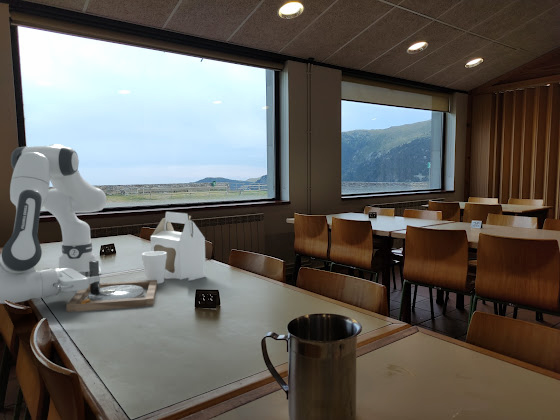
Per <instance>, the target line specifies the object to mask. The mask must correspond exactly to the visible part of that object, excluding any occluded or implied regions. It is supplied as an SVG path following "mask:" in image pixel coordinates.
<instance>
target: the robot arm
mask: <svg viewBox="0 0 560 420" xmlns="http://www.w3.org/2000/svg"><path fill="white" fill-rule="evenodd" d="M79 163H80V160H79V156H78V153H77V152H76V150H74V149H73V148H71V147H68V146H64V145H62V144H58V143H53V144H50V145H40V146H39V145H38V146H36V145H35V146H21V147H20V146H19V147H16V148H15V149H14V150H13V151H12V153H11V155H10V165H11V168H12V169H13V172H12V176H11V180H10V184H9V185H10V187H9V195H10V196H9V198H10V202H11V203H12V204H13V205H14V206H15V210H16V212H15V219H14V225H13V231H12V234H11V236H10V237H9V239H8V240H7V242H5V244H4V246H3V248H2V251H1V253H0V304H6V303H5V302H4V301H5V300H7V301H10V302H13V303H22V302H26V301H29V300H31V299H42V298H49V297H54V296H55V297H56V296H58V295H59V292H64V293H70V292H78V291H79V290H85V289H88V288H89V284H91V283H94V282H98V281H99V282H100V280H101V276H100V275H102V269H101V266H100V265H99V276H93V277H90V273H89V262H90V261H96V256H95V254H94V252H93V243H92V242H91V239H92V238H91V228H90V225H89V224H88V223H87V222H86V221H83V220H81V219H79V218H78V217H77V215H76V213H77V214H79V213H94V212H99V211H102V210H103V209H104V208H105V207H106V205H107V195H106V193H105V192H104V190H102V189H101V188H99V187H96V186H94V185H92V184H90V183H89V182H88V181H86V180H85V179H84V178H83V177H82V175H81V173H80V172H79ZM50 182H51V183H50ZM50 184H51V185H52V187H53V188H51V189H50ZM43 207H44V209H45V210H46V212H49V213H50V214H52V216H54V217H55V218H56V221H57V222H58V223H59V225H60V226H59V227H60V230H61V236H62V244H61V253H62V255H61V256H59V258H58V268H55V267H54V268H53V267H52V268H51V267H50V268H49V267H46V268H42V269H39V270H35V267H36V265H38V263H39V262H40V260H41V258H42V253H43V251H42V247H41V244H40V241H39V237H38V233H39V232H38V230H39V222H40V215H41V211H42V208H43ZM13 303H12V304H13Z"/></svg>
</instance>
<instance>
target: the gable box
mask: <svg viewBox="0 0 560 420" xmlns="http://www.w3.org/2000/svg"><path fill="white" fill-rule="evenodd" d="M191 219H192V215H189V213H187V212H186V213H185V212H176V211H166V212H165V217H163V218H161V220H160V221H159V223H158V224H157V226H156V227H155V229H154V231H153V232H152V233H151V235H150V252H152V251H164V252H167V259H166V265H165V275H164V280H165V279H167V280H168V279H177V280H184V279H188V281H194V280H198V279H201V278H206V272H207V271H206V270H207V269H206V237H205V236H204V235H203V233H202V232H201V230H200V229H199V227H198V226H197V225H196V223H195V222H194V221H192V220H191ZM172 223H174V224H184V226H183V229H182V231H181V232H180V231H176V230H174V227H173V225H172Z"/></svg>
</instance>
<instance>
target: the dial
mask: <svg viewBox="0 0 560 420" xmlns="http://www.w3.org/2000/svg"><path fill="white" fill-rule="evenodd" d="M99 266H100V262H99V260H95V261H90V262H89V273H90V277H93V276H99V277H100V274H99ZM144 290H145V288H142V287H140V286H135V285H116V286H109V287H103V288H100V281H98V282H94V283H91V284H90V293H89V294H88V295H87V299H90V301H101V300H115V299H129V298H143V297H144V295H145V293H144Z"/></svg>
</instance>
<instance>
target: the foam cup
mask: <svg viewBox="0 0 560 420" xmlns="http://www.w3.org/2000/svg"><path fill="white" fill-rule="evenodd" d="M141 258H142V265H143V271H144V275H145V281H146V280H150V281H151V280H157V285H158V284H162V283H164V282H165V278H164V275H165V265H166V259H167V252H164V251H152V252H151V251H146V252H145V251H144V252H142V253H141Z"/></svg>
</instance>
